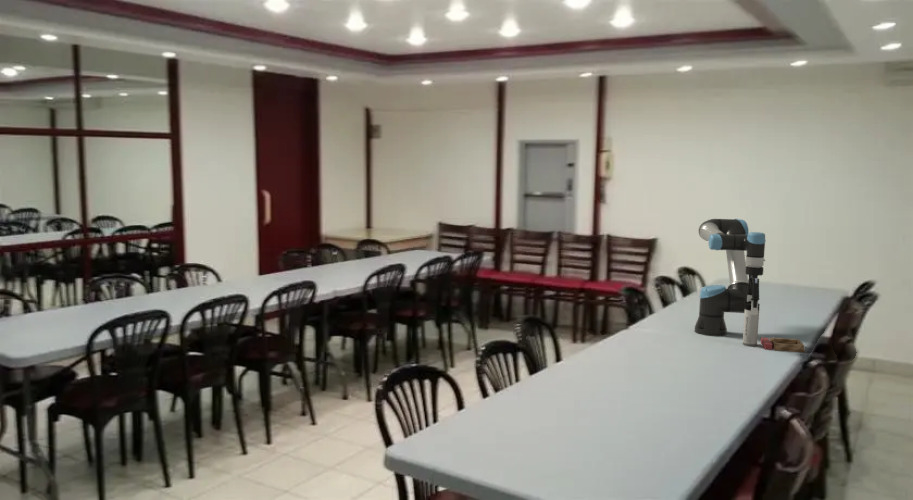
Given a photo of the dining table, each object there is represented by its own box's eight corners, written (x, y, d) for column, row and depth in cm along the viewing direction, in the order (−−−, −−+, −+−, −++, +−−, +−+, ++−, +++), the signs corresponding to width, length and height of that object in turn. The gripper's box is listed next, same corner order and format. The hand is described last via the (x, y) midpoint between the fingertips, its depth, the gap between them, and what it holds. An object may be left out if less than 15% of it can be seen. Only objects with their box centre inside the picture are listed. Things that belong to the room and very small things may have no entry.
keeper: (773, 350, 320) (774, 343, 320) (768, 343, 333) (769, 337, 332) (805, 352, 317) (805, 346, 317) (798, 345, 330) (799, 339, 329)
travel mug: (754, 343, 333) (757, 301, 331) (758, 346, 327) (761, 303, 324) (740, 342, 334) (743, 300, 331) (744, 346, 327) (747, 303, 325)
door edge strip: (764, 349, 322) (765, 343, 322) (760, 342, 334) (761, 337, 333) (772, 349, 321) (772, 344, 321) (767, 343, 333) (767, 338, 333)
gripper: (768, 270, 313) (765, 317, 315) (759, 263, 337) (756, 307, 339) (749, 269, 314) (747, 316, 317) (742, 262, 338) (739, 306, 341)
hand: (751, 311), depth 328 cm, fingers open, 13 cm apart
